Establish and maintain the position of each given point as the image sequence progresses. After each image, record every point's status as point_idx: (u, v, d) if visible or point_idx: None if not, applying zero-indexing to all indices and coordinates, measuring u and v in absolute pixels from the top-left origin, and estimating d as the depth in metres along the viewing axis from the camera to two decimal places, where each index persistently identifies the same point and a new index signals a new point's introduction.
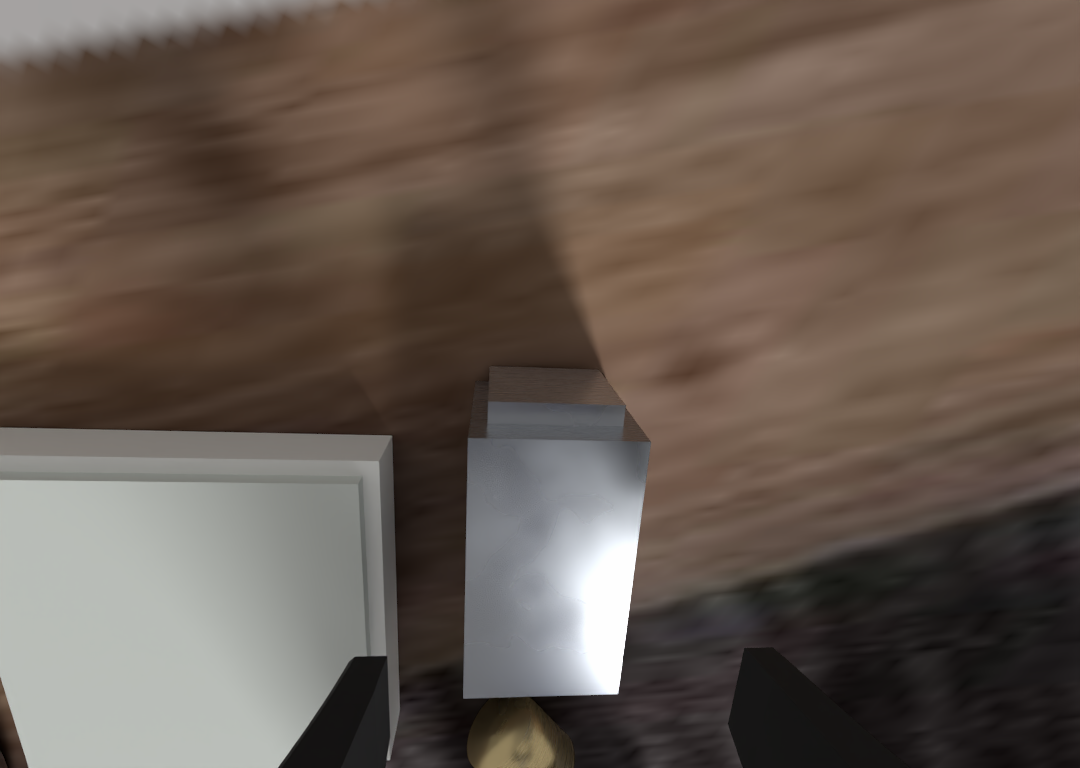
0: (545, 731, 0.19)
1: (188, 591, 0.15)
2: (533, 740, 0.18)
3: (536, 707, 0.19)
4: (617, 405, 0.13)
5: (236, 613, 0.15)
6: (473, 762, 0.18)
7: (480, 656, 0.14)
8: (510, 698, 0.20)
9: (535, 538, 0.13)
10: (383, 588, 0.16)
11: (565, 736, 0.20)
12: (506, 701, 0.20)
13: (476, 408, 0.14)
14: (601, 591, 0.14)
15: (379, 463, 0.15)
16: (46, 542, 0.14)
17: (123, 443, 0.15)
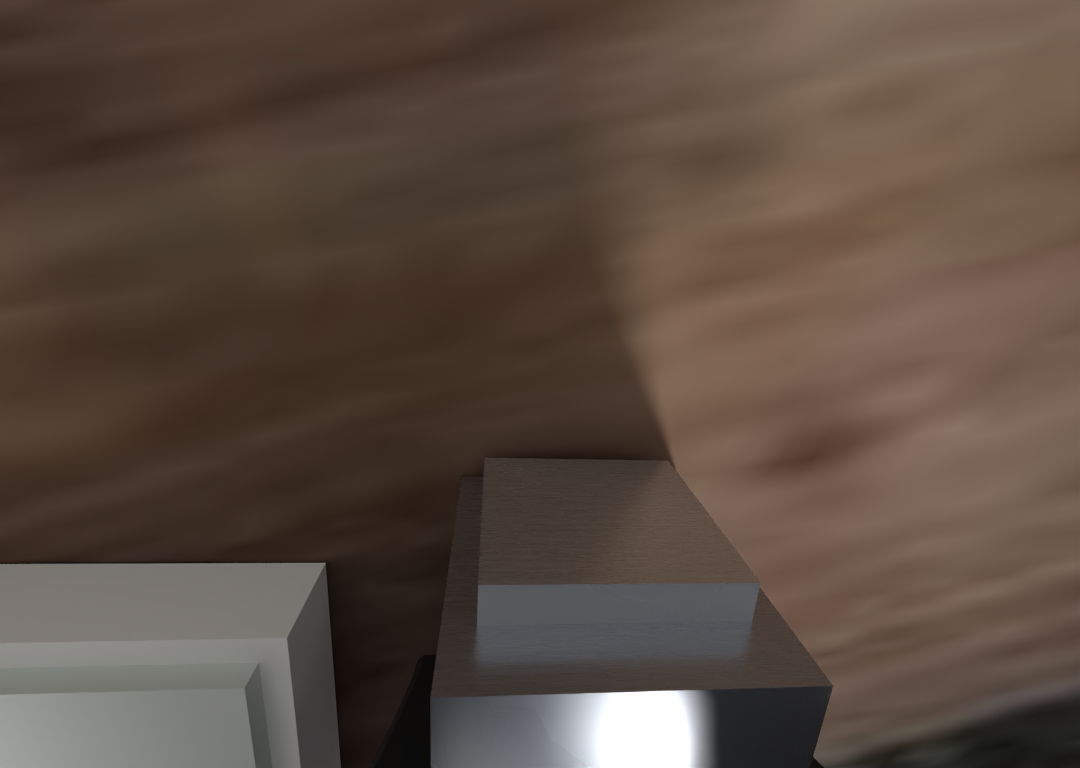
0: None
1: None
2: None
3: None
4: (743, 583, 0.06)
5: None
6: None
7: None
8: None
9: None
10: None
11: None
12: None
13: (457, 566, 0.07)
14: None
15: (288, 639, 0.08)
16: None
17: None
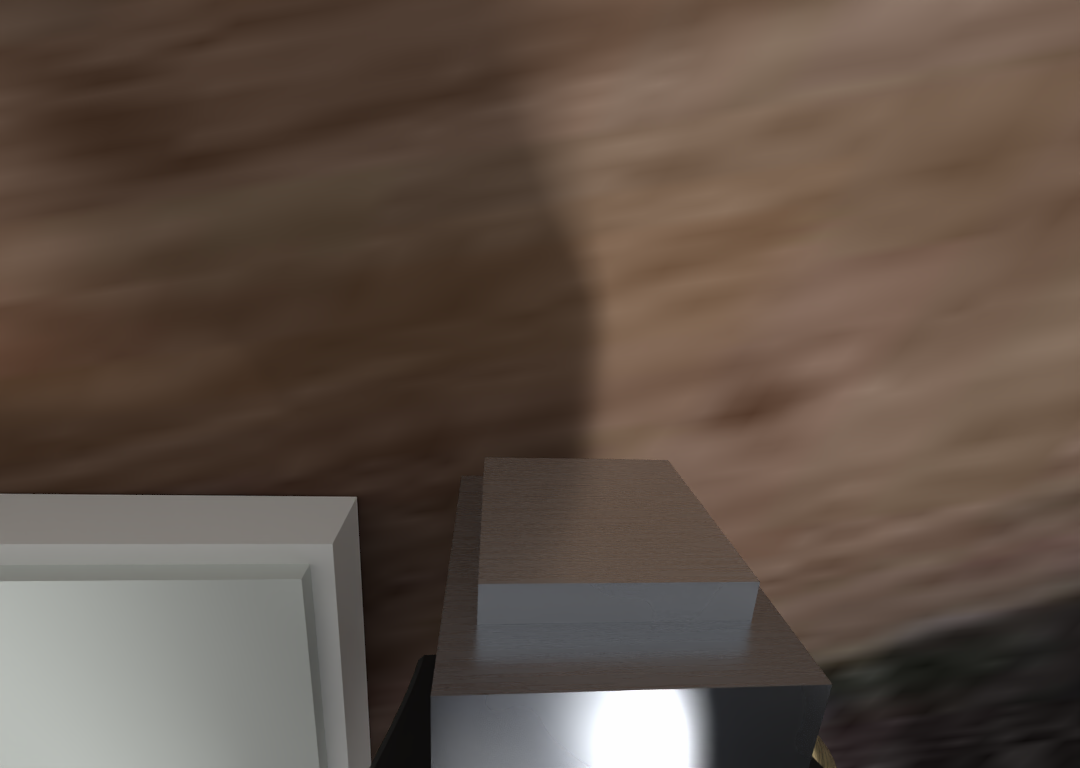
0: None
1: (70, 722, 0.11)
2: None
3: None
4: (743, 582, 0.06)
5: (140, 747, 0.11)
6: None
7: None
8: None
9: None
10: (343, 705, 0.12)
11: (829, 759, 0.14)
12: None
13: (458, 565, 0.07)
14: None
15: (333, 546, 0.11)
16: None
17: None
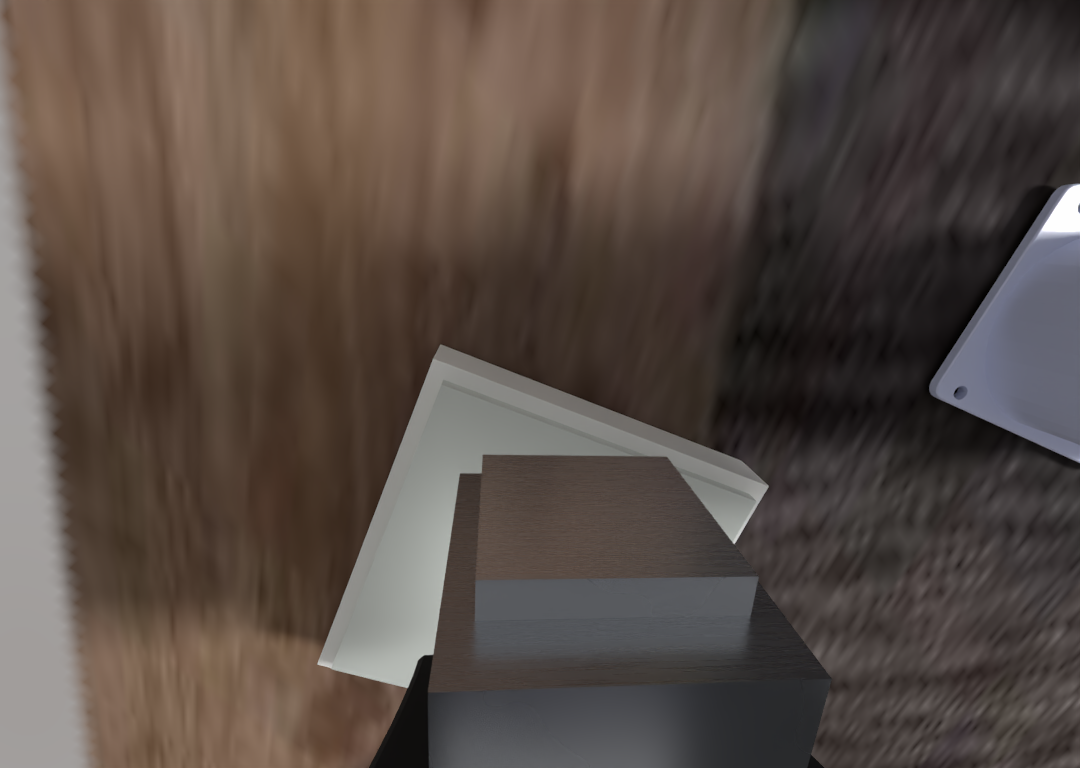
0: None
1: None
2: None
3: None
4: (742, 577, 0.06)
5: None
6: None
7: None
8: None
9: None
10: (571, 411, 0.16)
11: None
12: None
13: (456, 563, 0.07)
14: None
15: (437, 359, 0.15)
16: (408, 632, 0.17)
17: None
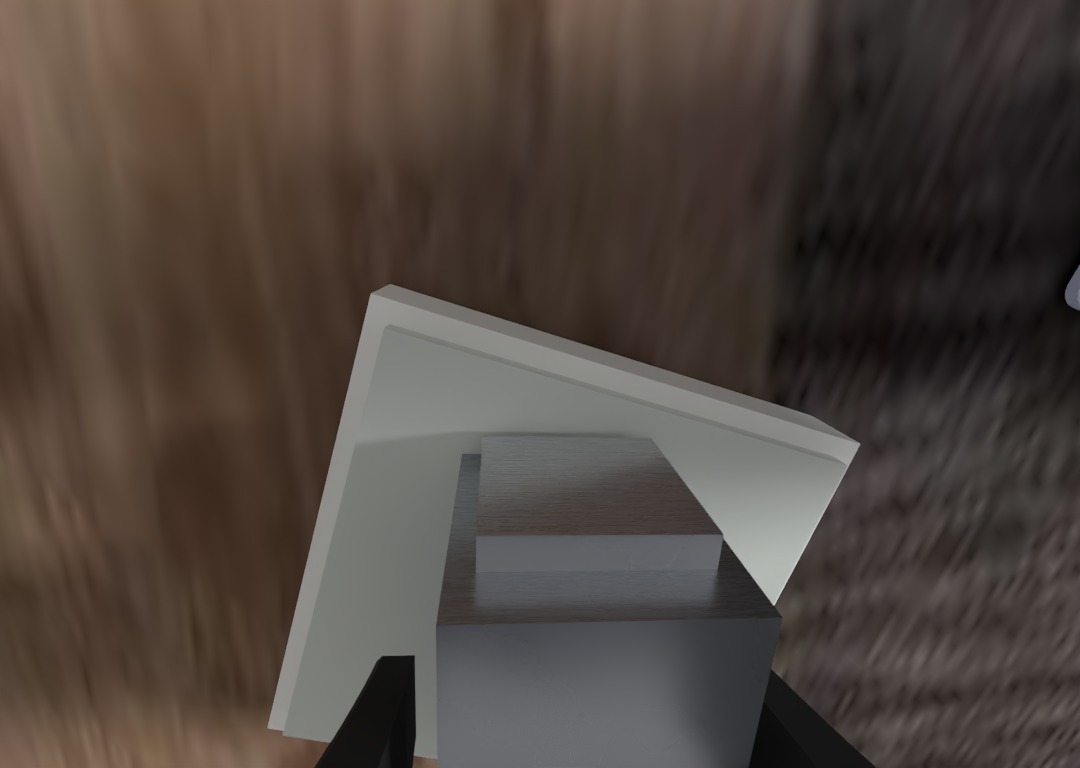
0: None
1: None
2: None
3: None
4: (709, 535, 0.07)
5: None
6: None
7: None
8: None
9: None
10: (576, 357, 0.11)
11: None
12: None
13: (459, 526, 0.08)
14: None
15: (376, 294, 0.10)
16: None
17: None
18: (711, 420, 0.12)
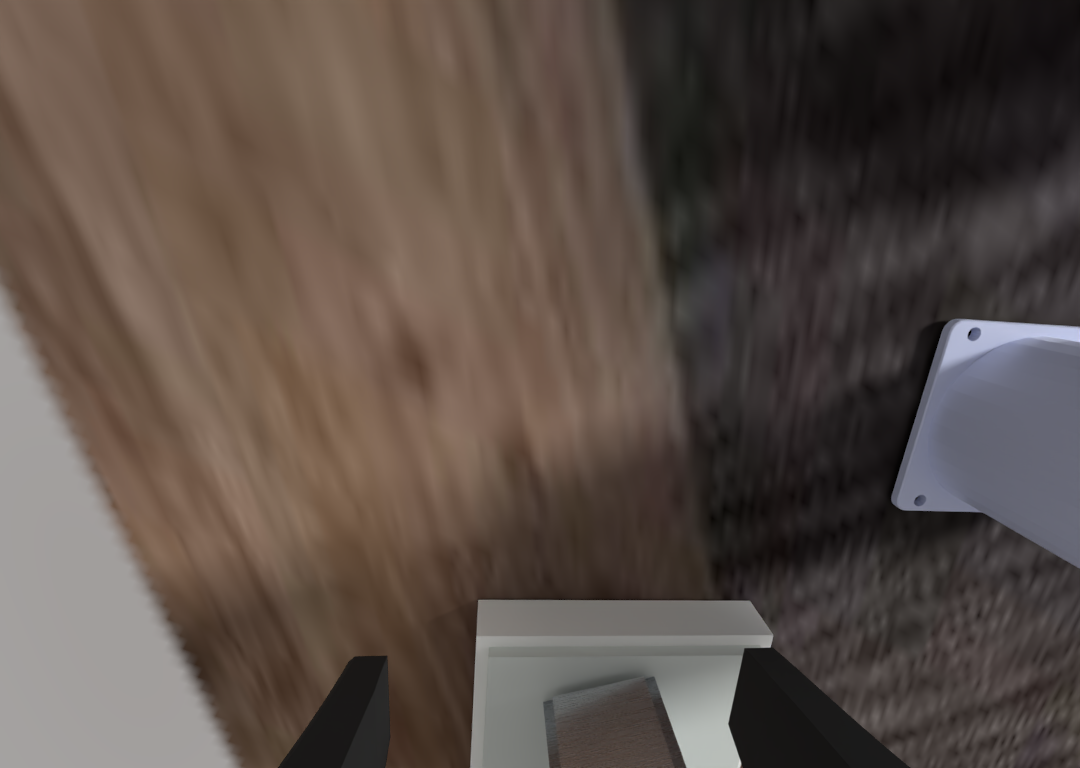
0: None
1: None
2: None
3: None
4: None
5: None
6: None
7: None
8: None
9: None
10: (593, 635, 0.20)
11: None
12: None
13: None
14: None
15: (479, 635, 0.19)
16: None
17: None
18: (678, 647, 0.20)
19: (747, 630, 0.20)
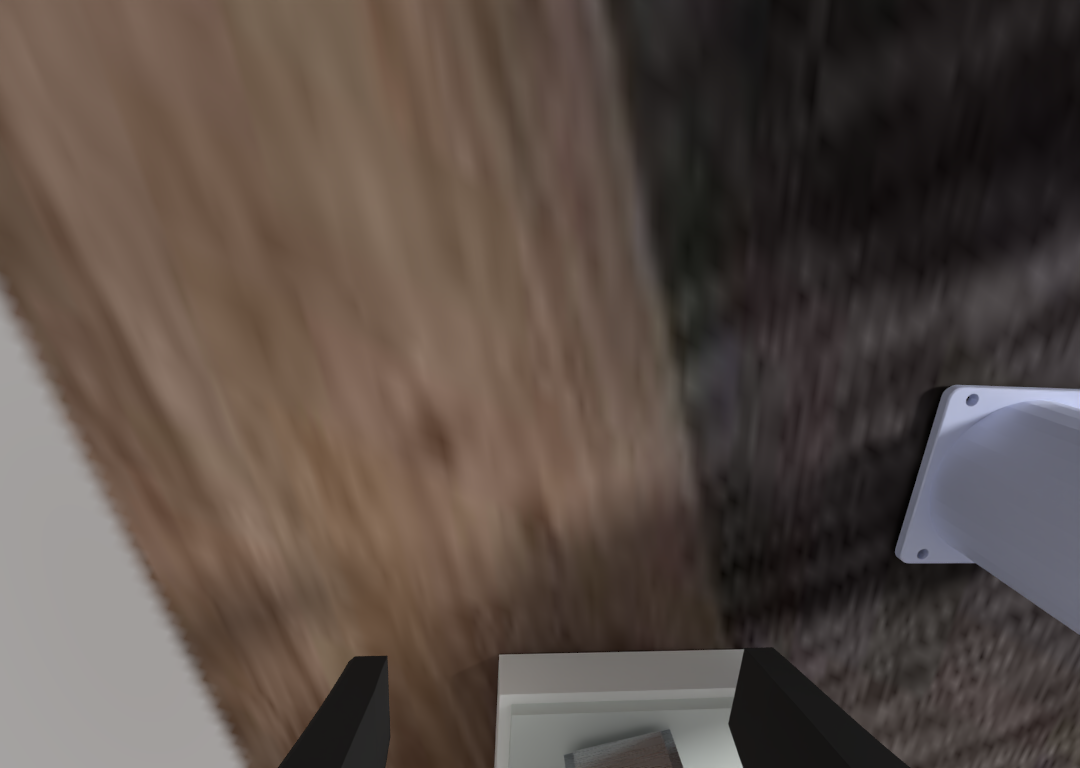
0: None
1: None
2: None
3: None
4: None
5: None
6: None
7: None
8: None
9: None
10: (610, 691, 0.20)
11: None
12: None
13: None
14: None
15: (502, 693, 0.20)
16: None
17: None
18: (692, 699, 0.21)
19: None
